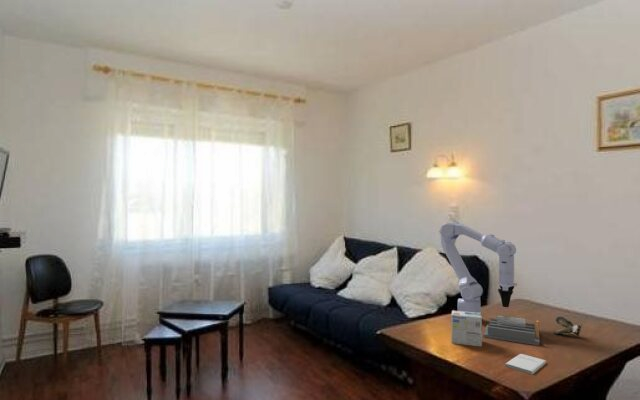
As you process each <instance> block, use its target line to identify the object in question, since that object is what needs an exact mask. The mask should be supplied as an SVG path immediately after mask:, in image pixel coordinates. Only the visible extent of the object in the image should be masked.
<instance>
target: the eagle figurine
mask: <svg viewBox="0 0 640 400" xmlns="http://www.w3.org/2000/svg"><path fill="white" fill-rule="evenodd" d="M555 321H556V323H557V324H558V325H559V326H561V327H563V328H561V329H557V330H556V331H552V334H554V335H559V334H568V335H570V334H571V333H572V334H574V335H576V337H577V338H578V337H579V338H580V334H581V329H582V326H583V323H582V324H580V325H579V324H578V325H577V324H575V325H574V324H573V323H572V322H571V320H568V319H567V318H566V317H563V316H557V317H556V319H555ZM576 331H577V332H576Z"/></svg>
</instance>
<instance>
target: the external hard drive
mask: <svg viewBox="0 0 640 400" xmlns="http://www.w3.org/2000/svg"><path fill="white" fill-rule="evenodd" d="M546 364H547V361H546V359H542V358H539V357H535V356H532V355H531V356H530V355H527V354H524V353H519V354H517V355H516V356H515V357H513V358H512V359H509V361H507V362H506V363H505V364H504V367H506V368H509V369H513V370H516V371H519V372H523V373H526V374H528V375H534V374H535V373H536V372H537V371H538V370H540V369H541V368H543V366H545V365H546Z"/></svg>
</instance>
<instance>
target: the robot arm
mask: <svg viewBox="0 0 640 400" xmlns="http://www.w3.org/2000/svg"><path fill="white" fill-rule="evenodd" d="M438 232H439V234H440V244H441V248H442V249H443V250H444V253H445V255H446V257H447V259H448V260H449V263H450V265H451V267H452V269H453V271H454V273H455V275H456V277H457V279H458V281H459V283H458V288H459V290H460V296H461V297H462V298H458V299H457V310H456V311H463V312H475V313H481V296H482V295H483V293H484V290H483V287H482V285H481V284H480V283H478V281H477V280H476V278H474V277H473V276H472V275H471V273H470V272H469V269H468V267H467V266H466V264H465V262H464V260H463V258H462V256H461V255H460V252H459V251H458V248H457V247H456V245H455V243H456V241H457V239H458V237H459V236H463V235H464V236H466V237H469V238H471V239H473V240H475V241H477V242H480V244H481V246H482V247H483V248H486V249H488V250H490V251H492V252H494V253H496V254H497V256H498V257H499V258H498V285H499V288H498V289H497V291H498V292H497V293H498V294H499V296H500V299H501V301H500V302H501V306H502V307H503V308H509V307H510V302H511V298H512V295H513V293H514V288H515V287H517V286H518V282H515V254H516V253H517V248H516V245H515V244H513V243H512V242H511V241H507V242H506V240H505V239H500V238H498V237H495V234H493V233H491V234H489V233H487V234H483V233H481V232H479V231H477V230H475V229H473V228H471V227H469V226H468V225H465V224H463V223H460V222H458V221H453V222H444V223H442V224H441V226H440V228H439V231H438Z"/></svg>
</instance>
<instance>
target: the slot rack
mask: <svg viewBox="0 0 640 400" xmlns="http://www.w3.org/2000/svg"><path fill="white" fill-rule="evenodd" d="M535 322H536V323H533V322H532V323H530V322H525V328H520V327H512V326H505V325H498V324H497V318H493V317H490V320H489V323H488V324H486V327H485V329H484V332H483V333H482V338H486V339H487V338H488V339H494V340H500V341H508V342H513V343H518V344H525V345H534V346H540V329H539V328H540V321H539V319H536V321H535Z"/></svg>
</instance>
